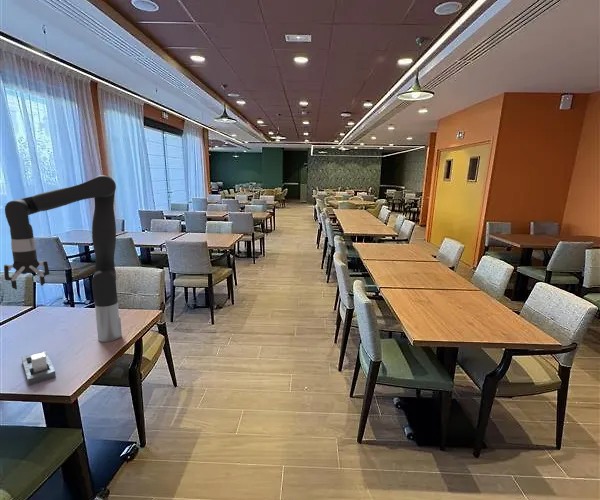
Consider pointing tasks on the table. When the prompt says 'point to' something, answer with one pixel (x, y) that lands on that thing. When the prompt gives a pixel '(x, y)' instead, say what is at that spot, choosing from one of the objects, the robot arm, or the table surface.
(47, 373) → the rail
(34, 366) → the steel peg
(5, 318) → the table surface
